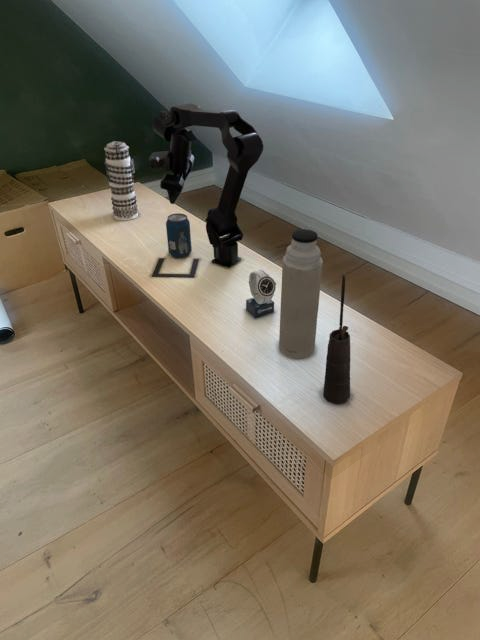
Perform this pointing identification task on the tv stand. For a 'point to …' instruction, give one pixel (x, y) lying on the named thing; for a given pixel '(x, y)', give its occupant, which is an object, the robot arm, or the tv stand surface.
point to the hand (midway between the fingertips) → (175, 195)
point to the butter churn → (338, 362)
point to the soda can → (178, 235)
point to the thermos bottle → (300, 295)
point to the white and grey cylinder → (121, 180)
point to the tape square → (158, 266)
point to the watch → (260, 294)
